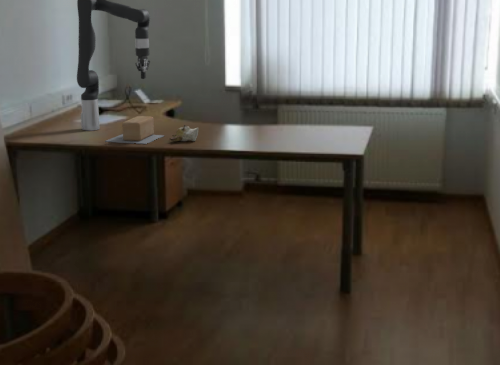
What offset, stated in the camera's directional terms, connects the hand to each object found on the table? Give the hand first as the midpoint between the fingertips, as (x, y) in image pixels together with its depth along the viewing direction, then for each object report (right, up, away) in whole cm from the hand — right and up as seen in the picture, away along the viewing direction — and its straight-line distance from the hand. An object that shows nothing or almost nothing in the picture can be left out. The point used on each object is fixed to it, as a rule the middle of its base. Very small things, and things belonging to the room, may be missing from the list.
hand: (143, 78), depth 430 cm
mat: (-3, -34, -12) cm, 36 cm away
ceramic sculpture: (+24, -36, -18) cm, 47 cm away
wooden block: (+2, -26, -2) cm, 26 cm away
